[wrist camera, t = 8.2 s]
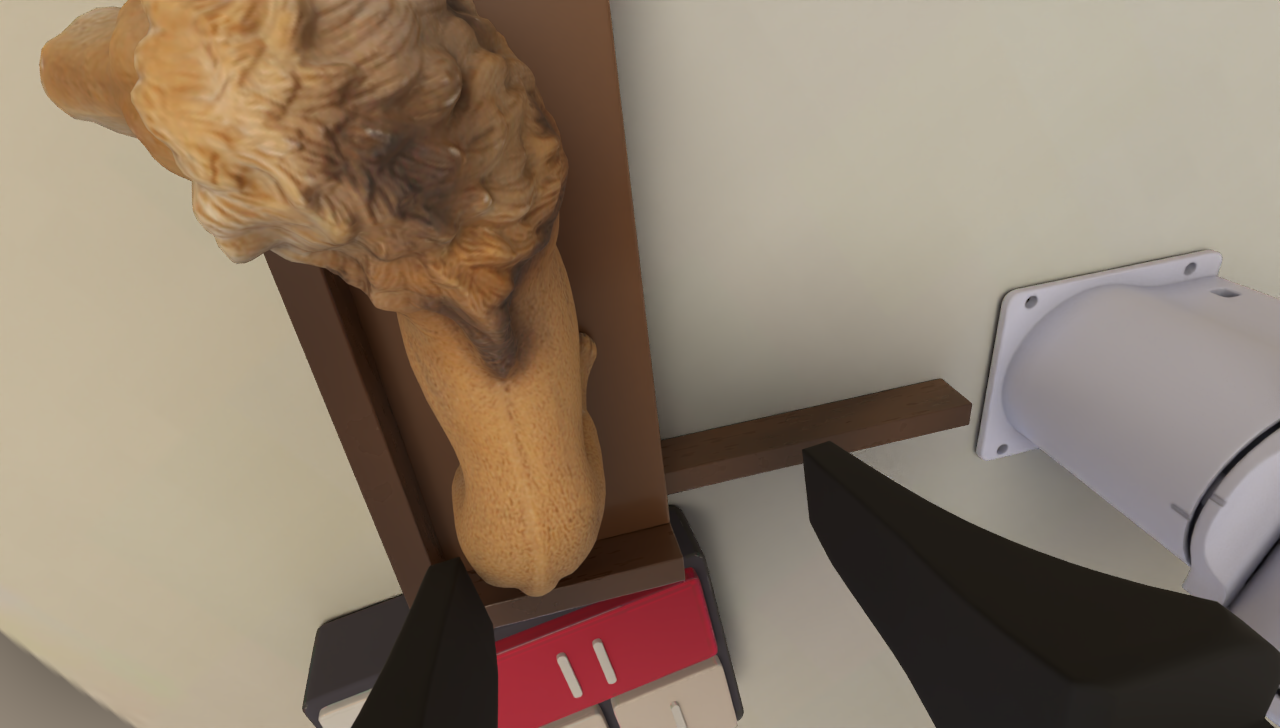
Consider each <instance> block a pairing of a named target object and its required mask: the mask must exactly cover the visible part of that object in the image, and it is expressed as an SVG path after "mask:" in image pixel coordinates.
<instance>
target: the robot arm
mask: <svg viewBox="0 0 1280 728" xmlns="http://www.w3.org/2000/svg"><path fill="white" fill-rule="evenodd" d="M1221 263H1222V254H1221V253H1219V252H1217V251H1214V250H1204V251H1199V252H1194V253H1189V254H1184V255H1179V256H1174V257H1170V258H1165V259H1160V260H1155V261H1150V262H1145V263H1140V264H1136V265H1131V266H1126V267H1121V268H1116V269H1111V270H1106V271H1102V272H1097V273H1092V274H1087V275H1082V276H1077V277H1072V278H1068V279H1063V280H1058V281H1053V282H1048V283H1043V284H1038V285H1034V286H1029V287H1024V288H1019V289H1015V290H1012V291H1010V292H1009V293H1008V294H1007V295H1006V296H1005V297H1004V299H1003V301H1002V305H1001V311H1000V316H999V322H998V328H997V334H996V339H995V345H994V351H993V357H992V362H991V368H990V374H989V380H988V385H987V391H986V397H985V403H984V408H983V414H982V420H981V426H980V431H979V437H978V443H977V449H976V453H977V454H978V456H979V457H980V458H982V459H983V460H985V461H988V460H993V459H997V458H1002V457H1006V456H1010V455H1014V454H1018V453H1022V452H1026V451H1030V450H1035V449H1039V448H1040V449H1041V450H1043V451H1044V452H1045V453H1046V454H1048V455H1049V456H1050V457H1051V458H1053V459H1054V460H1055V461H1057V462H1058V463H1059V464H1060V465H1062V466H1063V467H1064V468H1065V469H1067V470H1068V471H1069V472H1070V473H1072V474H1073V475H1074V476H1076V477H1077V478H1078V479H1079V480H1081V481H1082V482H1083V483H1084V484H1086V485H1087V486H1088V487H1089V488H1091V489H1092V490H1093V491H1094V492H1096V493H1097V494H1098V495H1100V496H1101V497H1102V498H1103V499H1105V500H1106V501H1107V502H1108V503H1110V504H1111V505H1112V506H1113V507H1115V508H1116V509H1117V510H1119V511H1120V512H1121V513H1122V514H1124V515H1125V516H1126V517H1127V518H1129V519H1130V520H1131V521H1132V522H1134V523H1135V524H1136V525H1137V526H1139V527H1140V528H1141V529H1143V530H1144V531H1145V532H1146V533H1148V534H1149V535H1150V536H1151V537H1153V538H1154V539H1155V540H1156V541H1158V542H1159V543H1160V544H1162V545H1163V546H1164V547H1165V548H1167V549H1168V550H1169V551H1170V552H1172V553H1173V554H1174V555H1175V556H1177V557H1178V558H1179V559H1180V560H1182V561H1183V562H1184V563H1186V564H1187V565H1188V566H1189V567H1190V570H1189V573H1188V575H1187V577H1186V579H1185V580H1184V582H1183V584H1182V588H1184V589H1185V590H1186V591H1187V592H1189V593H1190V594H1191V595H1192V596H1191V595H1187V594H1182V593H1178V592H1173V591H1169V590H1165V589H1160V588H1156V587H1152V586H1147V585H1144V584H1140V583H1136V582H1133V581H1129V580H1126V579H1122V578H1119V577H1115V576H1111V575H1108V574H1104V573H1101V572H1098V571H1094V570H1091V569H1088V568H1085V567H1082V566H1079V565H1075V564H1072V563H1070V562H1067V561H1064V560H1061V559H1058V558H1055V557H1053V556H1050V555H1047V554H1044V553H1041V552H1039V551H1036V550H1033V549H1031V548H1028V547H1025V546H1023V545H1020V544H1018V543H1015V542H1013V541H1010V540H1008V539H1006V538H1004V537H1001V536H999V535H997V534H994V533H992V532H990V531H987V530H985V529H983V528H980V527H978V526H976V525H974V524H972V523H970V522H968V521H965V520H963V519H961V518H959V517H957V516H956V515H954V514H952V513H950V512H948V511H946V510H944V509H942V508H940V507H938V506H936V505H935V504H933V503H931V502H929V501H927V500H925V499H924V498H922V497H920V496H918V495H917V494H915V493H913V492H912V491H910V490H908V489H906V488H905V487H903V486H901V485H900V484H898V483H896V482H894V481H893V480H891V479H890V478H888V477H886V476H885V475H883V474H881V473H880V472H878V471H877V470H875V469H873V468H872V467H870V466H869V465H867V464H866V463H864V462H862V461H861V460H859V459H858V458H856V457H855V456H853V455H852V454H850V453H849V452H847V451H845V450H844V449H842V448H841V447H839V446H838V445H836V444H834V443H833V442H831V441H827V442H824V443H821V444H817V445H814V446H811V447H808V448H805V449H802V455H803V464H804V473H805V482H806V492H807V501H808V510H809V519H810V523H811V525H812V527H813V529H814V531H815V533H816V535H817V537H818V539H819V541H820V542H821V544H822V546H823V548H824V550H825V552H826V554H827V556H828V558H829V559H830V561H831V563H832V565H833V566H834V568H835V569H836V571H837V572H838V574H839V575H840V577H841V578H842V580H843V581H844V583H845V584H846V585H847V587H848V588H849V590H850V591H851V593H852V594H853V596H854V597H855V599H856V600H857V602H858V603H859V604H860V606H861V607H862V609H863V610H864V612H865V613H866V615H867V616H868V617H869V619H870V620H871V622H872V623H873V625H874V626H875V628H876V629H877V631H878V632H879V633H880V635H881V636H882V638H883V639H884V641H885V642H886V644H887V645H888V646H889V648H890V649H891V651H892V652H893V654H894V655H895V657H896V658H897V660H898V662H899V663H900V665H901V666H902V668H903V670H904V671H905V673H906V674H907V676H908V678H909V680H910V681H911V683H912V685H913V687H914V689H915V690H916V692H917V694H918V696H919V698H920V699H921V701H922V703H923V705H924V707H925V708H926V710H927V712H928V714H929V716H930V717H931V719H932V721H933V723H934V725H935V727H936V728H1274V727H1273V726H1272V725H1271V724H1270V723H1269V722H1268V721H1267V720H1266V719H1265V716H1267V717H1268V718H1269V719H1270V720H1271V721H1273V722H1274V723H1275V724H1276V725H1278V726H1279V727H1280V299H1278V298H1275V297H1273V296H1270V295H1267V294H1265V293H1262V292H1259V291H1256V290H1254V289H1251V288H1248V287H1246V286H1243V285H1240V284H1238V283H1235V282H1232V281H1229V280H1227V279H1224V278H1221V277H1219V276H1217V275H1218V272H1219V269H1220V266H1221ZM1029 297H1030V299H1029V301H1028V302H1027V303H1026V301H1027V299H1028V298H1029ZM351 728H498V665H497V655H496V646H495V638H494V629H493V623H492V621H491V619H490V617H489V615H488V613H487V611H486V609H485V607H484V605H483V603H482V601H481V599H480V597H479V594H478V592H477V590H476V588H475V586H474V584H473V582H472V580H471V578H470V576H469V574H468V572H467V570H466V568H465V566H464V564H463V562H462V560H461V558H460V557H457V558H453V559H450V560H447V561H444V562H441V563H437V564H434V565H431V566H429V568H428V569H427V571H426V573H425V576H424V578H423V580H422V583H421V585H420V587H419V590H418V592H417V594H416V597H415V599H414V602H413V604H412V606H411V608H410V611H409V613H408V615H407V618H406V620H405V622H404V624H403V627H402V629H401V631H400V633H399V635H398V637H397V639H396V642H395V644H394V646H393V648H392V650H391V652H390V654H389V656H388V658H387V661H386V663H385V665H384V667H383V669H382V671H381V673H380V675H379V677H378V678H377V680H376V682H375V684H374V686H373V688H372V690H371V692H370V693H369V695H368V697H367V699H366V701H365V703H364V705H363V707H362V709H361V710H360V712H359V714H358V716H357V718H356V719H355V721H354V723H353V724H352V726H351Z"/></svg>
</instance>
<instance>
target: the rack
mask: <svg viewBox="0 0 1280 728" xmlns="http://www.w3.org/2000/svg"><path fill="white" fill-rule="evenodd" d="M472 1H473V3H474V5H475V8H476V11H477V14H478V15H479V17H481V18H485V19H488V20H489V21H490V22H491V23H492V24H493V26H494V27H495V29H496V31H497V32H499V33H500V34H501V35H503V36H504V38H505V39H506V42H507V45H508V47H509V48H510V49H511V51H512V52H513V53H514V54H515V56H516V57H517V58H518V59H519V60H520V61H521V62H523V63H524V64H525V65H526V66H528V68H529V69H530V70H531V71H532V73H533V75H534V77H535V84H536V86H537V88H538V90H539V92H540V95H541V97H542V99H543V103H544V106H545V109H546V110H547V111H548V112H549V113H550V114H551V115H552V116H553V118H554V120H555V122H556V125H557V127H558V130H559V132H560V137H561V142H562V148H563V151H564V153H565V155H566V157H567V159H568V166H569V167H568V176H567V181H566V187H565V192H564V197H563V201H562V204H561V207H560V210H559V230H558V237H557V241H556V246H557V248H558V250H559V253H560V256H561V258H562V261H563V264H564V266H565V269H566V272H567V276H568V279H569V283H570V287H571V291H572V295H573V300H574V304H575V309H576V315H577V321H578V331H579V333H585V334H586V335H588V336H589V337H590V338H591V339H592V340H593V341H594V342H595V345H596V348H597V356H596V359H595V361H594V363H593V366H592V368H591V371H590V374H589V377H588V382H587V389H586V406H587V411H588V413H589V415H590V416H591V418H592V420H593V422H594V425H595V427H596V430H597V435H598V439H599V443H600V448H601V454H602V461H603V470H604V477H605V488H606V496H605V507H604V513H603V517H602V521H601V525H600V528H599V532H598V535H597V539H596V542H595V544H594V546H593V548H592V550H591V551H590V553H589V554H588V556H587V557H586V559H585V560H584V561H583V562H582V564H581V565H580V566H579V567H578V568H577V569H576V570H575V571H574V572H573V573H572V574H570V575H567V576H565V577H563V578H561V579H560V580H559V582H558V583H557V585H556V587H555V588H554V589H553V590H551V591H550V592H549V593H547V594H545V595H543V596H539V597H533V596H528V595H527V594H525V593H524V592H522V591H521V590H520V589H517V588H502V587H496V586H493V585H490V584H488V583H486V582H485V581H484V580H483V579H482V578H481V577H480V576H479V575H478V574H477V573H476V571H475V570H474V568H473V567H472V566H471V564H470V563H469V562H468V560H467V558H466V557H465V555H464V553H463V551H462V549H461V547H460V544H459V541H458V538H457V533H456V528H455V520H454V512H453V502H452V483H453V479H454V476H455V472H456V470H457V468H458V467H459V465H460V462H459V460H458V457H457V455H456V453H455V450H454V448H453V446H452V445H451V443H450V441H449V439H448V437H447V435H446V434H445V432H444V430H443V428H442V426H441V425H440V423H439V421H438V419H437V418H436V416H435V414H434V413H433V411H432V409H431V407H430V405H429V404H428V402H427V400H426V398H425V396H424V393H423V391H422V389H421V387H420V385H419V383H418V380H417V378H416V376H415V374H414V372H413V370H412V367H411V365H410V362H409V359H408V356H407V353H406V350H405V346H404V342H403V338H402V334H401V330H400V326H399V322H398V318H397V313H396V312H394V311H386V310H382V309H379V308H376V307H375V306H374V304H373V303H372V301H371V300H370V298H369V296H368V295H367V294H366V293H365V292H364V291H362V290H361V289H359V288H357V287H355V286H352V285H350V284H348V283H346V282H345V281H344V280H343V279H342V278H341V277H340V276H339V275H336V274H333V273H332V272H330V271H329V270H327V269H326V268H321V267H317V266H313V265H308V264H304V263H297V262H291V261H289V260H286V259H284V258H283V257H281V256H279V255H278V254H276V253H274V252H273V251H271V250H268V251H266V252H264V256H265V258H266V261H267V263H268V265H269V268H270V270H271V273H272V275H273V278H274V280H275V283H276V285H277V287H278V290H279V292H280V295H281V297H282V300H283V302H284V304H285V307H286V309H287V312H288V314H289V317H290V319H291V321H292V324H293V326H294V329H295V331H296V334H297V336H298V339H299V341H300V343H301V346H302V348H303V351H304V353H305V356H306V358H307V360H308V363H309V365H310V368H311V370H312V373H313V375H314V378H315V380H316V382H317V385H318V387H319V390H320V392H321V395H322V397H323V399H324V402H325V404H326V407H327V409H328V412H329V414H330V416H331V419H332V421H333V424H334V426H335V429H336V431H337V434H338V436H339V438H340V441H341V443H342V446H343V448H344V451H345V453H346V455H347V458H348V460H349V463H350V465H351V468H352V470H353V473H354V475H355V477H356V480H357V482H358V485H359V487H360V490H361V492H362V494H363V497H364V499H365V502H366V504H367V507H368V509H369V512H370V514H371V516H372V519H373V521H374V524H375V526H376V529H377V531H378V533H379V536H380V538H381V541H382V543H383V546H384V548H385V550H386V553H387V555H388V558H389V560H390V563H391V565H392V568H393V570H394V572H395V575H396V577H397V580H398V582H399V585H400V587H401V589H402V592H403V594H404V597H405V599H406V602H407V604H408V607H409V609H410V608H411V606H412V604H413V602H414V599H415V597H416V594H417V592H418V590H419V587H420V585H421V583H422V580H423V578H424V576H425V573H426V571H427V569H428V568H429V566H431V565H434V564H437V563H441V562H444V561H447V560H450V559H453V558H457V557H460V558H461V560H462V562H463V564H464V566H465V568H466V570H467V572H468V574H469V576H470V578H471V580H472V582H473V584H474V586H475V588H476V590H477V592H478V594H479V597H480V599H481V601H482V603H483V605H484V607H485V609H486V611H487V613H488V615H489V617H490V619H491V621H492V623H493V628H497V627H501V626H505V625H509V624H513V623H517V622H521V621H525V620H529V619H533V618H537V617H541V616H544V615H548V614H552V613H556V612H560V611H564V610H568V609H572V608H576V607H580V606H584V605H588V604H592V603H596V602H600V601H604V600H608V599H612V598H616V597H620V596H624V595H628V594H632V593H636V592H640V591H644V590H648V589H652V588H656V587H660V586H664V585H668V584H672V583H676V582H680V581H683V580H685V570H684V560H683V556H682V553H681V550H680V548H679V545H678V542H677V540H676V537H675V534H674V532H673V529H672V526H671V524H670V516H669V508H668V499H667V495H669V494H673V493H678V492H682V491H686V490H691V489H695V488H699V487H703V486H708V485H712V484H716V483H721V482H725V481H729V480H733V479H738V478H742V477H746V476H751V475H755V474H759V473H763V472H768V471H772V470H776V469H781V468H785V467H789V466H793V465H798V464H802V463H803V455H802V449H805V448H808V447H811V446H814V445H817V444H821V443H824V442H827V441H831V442H833V443H834V444H836V445H838V446H839V447H841V448H842V449H844V450H845V451H847V452H853V451H858V450H862V449H866V448H871V447H875V446H879V445H883V444H888V443H892V442H896V441H901V440H905V439H909V438H913V437H918V436H922V435H926V434H930V433H935V432H939V431H943V430H948V429H952V428H956V427H960V426H965V425H968V424H969V421H970V415H971V409H972V403H971V402H970V401H969V400H967V399H966V398H965V397H964V396H962V395H961V394H960V393H959V392H957V391H956V390H955V389H954V388H952V387H951V386H950V385H949V384H948V383H946V382H945V381H944V380H943V379H936V380H932V381H927V382H923V383H918V384H914V385H909V386H905V387H900V388H896V389H891V390H886V391H882V392H877V393H873V394H868V395H864V396H859V397H855V398H850V399H846V400H841V401H837V402H832V403H828V404H823V405H819V406H814V407H810V408H805V409H801V410H796V411H792V412H787V413H783V414H778V415H774V416H769V417H765V418H760V419H756V420H751V421H747V422H742V423H738V424H733V425H729V426H724V427H720V428H715V429H711V430H706V431H702V432H697V433H693V434H688V435H684V436H679V437H675V438H670V439H666V440H661V439H660V431H659V422H658V414H657V405H656V396H655V388H654V379H653V371H652V362H651V354H650V345H649V337H648V328H647V319H646V311H645V302H644V294H643V285H642V277H641V268H640V260H639V251H638V242H637V234H636V225H635V217H634V208H633V200H632V191H631V183H630V174H629V165H628V157H627V148H626V140H625V131H624V123H623V114H622V106H621V97H620V88H619V80H618V71H617V63H616V54H615V46H614V37H613V29H612V20H611V12H610V3H609V0H472Z"/></svg>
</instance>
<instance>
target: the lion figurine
mask: <svg viewBox="0 0 1280 728" xmlns="http://www.w3.org/2000/svg"><path fill="white" fill-rule="evenodd" d="M39 66H40V76H41V83H42V85H43V88H44V91H45V92H46V94H47V96H48V97H49V98H50V99H51V100H52V101H53V102H54V103H55V104H56V105H57V107H59V108H60V109H61V110H63V111H64V112H65V113H67V114H68V115H70V116H71V117H73V118H74V119H79V120H84V121H90V122H94V123H97V124H99V125H101V126H104V127H106V128H108V129H110V130H113V131H115V132H117V133H121V134H124V135H128V136H131V137H135V138H138V139H139V140H140V141H141V143H142V144H143V145H144V146H145V147H146V148H147V150H148V151H149V152H150V154H151V155H152V157H153V158H154V159H155V160H156V161H157V162H159V163H160V164H161V165H162V166H163V167H165V168H166V169H168V170H169V171H171V172H173V173H175V174H176V175H178V176H181V177H183V178H186V179H188V180H190V181H192V205H193V212H194V214H195V216H196V219H197V221H198V222H199V223H200V224H201V225H202V226H203V227H204V228H205V229H206V231H208V232H209V233H211V234H213V236H214V237H215V239H216V242H217V244H218V247H219V248H220V249H221V250H222V251H223V252H224V253H225V254H226V256H227V257H228V258H229V259H230V260H231V261H232V262H234V263H237V264H238V263H247V262H249V261H251V260H253V259H255V258H256V257H258V256H260V255H261V254H263V253H264V252H266V251H268V250H271V251H273V252H274V253H276V254H278V255H279V256H281V257H283V258H284V259H286V260H289V261H291V262H297V263H304V264H308V265H313V266H317V267H321V268H326V269H327V270H329V271H330V272H332V273H333V274H336V275H339V276H340V277H341V278H342V279H343V280H344V281H345V282H346V283H348V284H350V285H352V286H355V287H357V288H359V289H361V290H362V291H364V292H365V293H366V294H367V295H368V296H369V298H370V300H371V301H372V303H373V304H374V306H375V307H376V308H379V309H382V310H386V311H394V312H396V313H397V318H398V322H399V326H400V330H401V334H402V338H403V342H404V346H405V350H406V353H407V356H408V359H409V362H410V365H411V367H412V370H413V372H414V374H415V376H416V378H417V380H418V383H419V385H420V387H421V389H422V391H423V393H424V396H425V398H426V400H427V402H428V404H429V405H430V407H431V409H432V411H433V413H434V414H435V416H436V418H437V419H438V421H439V423H440V425H441V426H442V428H443V430H444V432H445V434H446V435H447V437H448V439H449V441H450V443H451V445H452V446H453V448H454V450H455V453H456V455H457V457H458V460H459V462H460V465H459V467H458V468H457V470H456V472H455V476H454V479H453V483H452V502H453V512H454V520H455V528H456V533H457V538H458V541H459V544H460V547H461V549H462V551H463V553H464V555H465V557H466V558H467V560H468V562H469V563H470V564H471V566H472V567H473V568H474V570H475V571H476V573H477V574H478V575H479V576H480V577H481V578H482V579H483V580H484V581H485V582H486V583H488V584H490V585H493V586H496V587H502V588H517V589H520V590H521V591H522V592H524V593H525V594H527V595H528V596H533V597H539V596H543V595H545V594H547V593H549V592H550V591H551V590H553V589H554V588H555V587H556V585H557V583H558V582H559V580H560V579H561V578H563V577H565V576H567V575H570V574H572V573H573V572H574V571H575V570H576V569H577V568H578V567H579V566H580V565H581V564H582V562H583V561H584V560H585V559H586V557H587V556H588V554H589V553H590V551H591V550H592V548H593V546H594V544H595V542H596V539H597V535H598V532H599V528H600V525H601V521H602V517H603V513H604V507H605V496H606V488H605V477H604V470H603V461H602V454H601V448H600V443H599V439H598V435H597V430H596V427H595V425H594V422H593V420H592V418H591V416H590V415H589V413H588V411H587V406H586V389H587V382H588V377H589V374H590V371H591V368H592V366H593V363H594V361H595V359H596V356H597V348H596V345H595V342H594V341H593V340H592V339H591V338H590V337H589V336H588V335H586V334H585V333H579V331H578V321H577V315H576V309H575V304H574V300H573V295H572V291H571V287H570V283H569V279H568V276H567V272H566V269H565V266H564V264H563V261H562V258H561V256H560V253H559V250H558V248H557V246H556V241H557V237H558V230H559V210H560V207H561V204H562V201H563V197H564V192H565V187H566V181H567V176H568V167H569V166H568V159H567V157H566V155H565V153H564V151H563V148H562V142H561V137H560V132H559V130H558V127H557V125H556V122H555V120H554V118H553V116H552V115H551V114H550V113H549V112H548V111H547V110H546V109H545V106H544V103H543V99H542V97H541V95H540V92H539V90H538V88H537V86H536V84H535V77H534V75H533V73H532V71H531V70H530V69H529V68H528V66H526V65H525V64H524V63H523V62H521V61H520V60H519V59H518V58H517V57H516V56H515V54H514V53H513V52H512V51H511V49H510V48H509V47H508V45H507V42H506V39H505V38H504V36H503V35H501V34H500V33H499V32H497V31H496V29H495V27H494V26H493V24H492V23H491V22H490V21H489V20H488V19H485V18H481V17H479V15H478V14H477V11H476V8H475V5H474V3H473V1H472V0H128V1H127V2H126V3H125V4H124V5H123V7H122V8H119V7H101V8H95V9H93V10H91V11H89V12H87V13H85V14H83V15H81V16H79V17H77V18H76V19H75V20H74V21H73V22H72V23H71V24H70V25H69V26H68V27H67V28H66V29H65V30H64V31H63V32H62V33H61V34H59V35H58V36H56V37H54V38H53V39H51V40H49V41H48V42H47V43H46V44H45V45H44V47H43V48H42V51H41V57H40V64H39Z"/></svg>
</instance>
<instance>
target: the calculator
mask: <svg viewBox="0 0 1280 728" xmlns="http://www.w3.org/2000/svg"><path fill="white" fill-rule="evenodd" d="M668 508H669V516H670V524H671V526H672V529H673V532H674V534H675V537H676V540H677V542H678V545H679V548H680V550H681V553H682V556H683V560H684V570H685V580H683V581H680V582H676V583H672V584H668V585H664V586H660V587H656V588H652V589H648V590H644V591H640V592H636V593H632V594H628V595H624V596H620V597H616V598H612V599H608V600H604V601H600V602H596V603H592V604H588V605H584V606H580V607H576V608H572V609H568V610H564V611H560V612H556V613H552V614H548V615H544V616H541V617H537V618H533V619H529V620H525V621H521V622H517V623H513V624H509V625H505V626H501V627H497V628H493V629H494V638H495V646H496V655H497V665H498V728H736V727H737V721H738V720H740V719H741V718H742V716H743V713H744V710H743V706H742V702H741V698H740V694H739V690H738V686H737V682H736V678H735V674H734V670H733V666H732V662H731V658H730V654H729V651H728V647H727V643H726V639H725V635H724V631H723V627H722V623H721V619H720V615H719V611H718V607H717V603H716V599H715V595H714V591H713V587H712V583H711V579H710V575H709V571H708V567H707V564H706V560H705V557H704V554H703V552H702V550H701V548H700V546H699V544H698V542H697V540H696V538H695V536H694V534H693V532H692V530H691V528H690V526H689V524H688V522H687V520H686V518H685V516H684V514H683V512H682V510H681V509H680V508H679V507H676V506H670V507H668ZM409 611H410V609H409V607H408V604H407V602H406V599H405V597H404V594H403V595H401V596H398V597H395V598H393V599H390V600H387V601H385V602H382V603H379V604H377V605H374V606H371V607H368V608H366V609H363V610H360V611H358V612H355V613H352V614H350V615H347V616H344V617H341V618H339V619H336V620H333V621H331V622H328V623H326V624H324V625H322V626H320V627H319V628H318V630H317V633H316V637H315V642H314V647H313V652H312V658H311V663H310V668H309V674H308V679H307V684H306V690H305V695H304V701H303V707H302V709H303V712H304V713H305V715H306V716H307V717H308V719H309V720H310V721H311V722H312V723H313V725H314V726H315V727H316V728H351V726H352V724H353V723H354V721H355V719H356V718H357V716H358V714H359V712H360V710H361V709H362V707H363V705H364V703H365V701H366V699H367V697H368V695H369V693H370V692H371V690H372V688H373V686H374V684H375V682H376V680H377V678H378V677H379V675H380V673H381V671H382V669H383V667H384V665H385V663H386V661H387V658H388V656H389V654H390V652H391V650H392V648H393V646H394V644H395V642H396V639H397V637H398V635H399V633H400V631H401V629H402V627H403V624H404V622H405V620H406V618H407V615H408V613H409Z"/></svg>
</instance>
